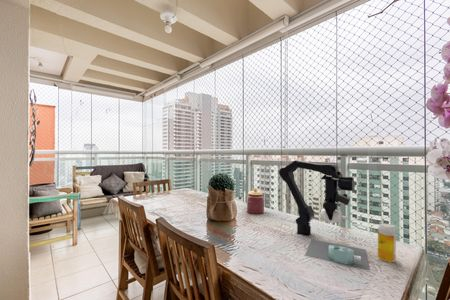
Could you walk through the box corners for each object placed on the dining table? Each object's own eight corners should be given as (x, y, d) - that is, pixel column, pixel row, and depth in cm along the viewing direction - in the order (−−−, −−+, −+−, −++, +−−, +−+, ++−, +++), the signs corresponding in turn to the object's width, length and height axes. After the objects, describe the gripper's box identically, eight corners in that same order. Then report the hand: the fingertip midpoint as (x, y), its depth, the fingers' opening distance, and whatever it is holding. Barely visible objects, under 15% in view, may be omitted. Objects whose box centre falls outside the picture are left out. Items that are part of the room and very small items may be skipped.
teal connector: (328, 259, 93) (328, 248, 93) (328, 255, 97) (329, 244, 97) (361, 267, 87) (361, 254, 87) (360, 262, 91) (360, 250, 91)
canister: (243, 210, 168) (243, 187, 168) (257, 208, 174) (257, 186, 174) (252, 215, 156) (252, 190, 156) (267, 213, 162) (267, 189, 162)
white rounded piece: (320, 220, 113) (320, 210, 113) (321, 218, 117) (321, 208, 117) (346, 224, 108) (346, 214, 108) (346, 221, 111) (346, 211, 111)
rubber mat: (304, 256, 97) (304, 255, 97) (311, 240, 114) (311, 239, 114) (369, 271, 85) (369, 270, 85) (366, 250, 102) (366, 249, 102)
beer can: (378, 255, 98) (378, 221, 98) (395, 259, 94) (396, 224, 94) (377, 260, 93) (377, 225, 93) (395, 265, 89) (395, 228, 89)
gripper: (349, 193, 101) (349, 227, 101) (349, 187, 117) (348, 216, 117) (322, 191, 106) (322, 223, 106) (326, 185, 122) (326, 213, 123)
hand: (331, 218), depth 113 cm, fingers closed on white rounded piece, 4 cm apart
